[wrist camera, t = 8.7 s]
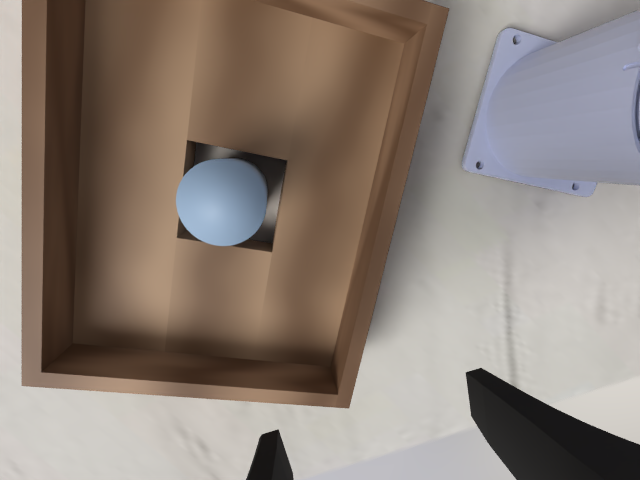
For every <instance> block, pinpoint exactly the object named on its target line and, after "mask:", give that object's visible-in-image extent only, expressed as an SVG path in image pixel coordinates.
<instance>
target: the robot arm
mask: <svg viewBox="0 0 640 480" xmlns="http://www.w3.org/2000/svg"><path fill="white" fill-rule="evenodd" d="M513 37H514V38H515V39H516V44H514V43H513ZM478 161H479V162H480V166H479V168H478V169H477V168H476V163H477V162H478ZM462 168H463V169H464V170H465V171H467V172H472V173H476V174H481V175H485V176H490V177H495V178H499V179H504V180H508V181H513V182H517V183H522V184H527V185H531V186H536V187H540V188H545V189H550V190H554V191H559V192H563V193H568V194H572V195H577V196H582V197H588V196H590V195H591V194H593V192H594V190H595V187H596V185H597V182H601V183H614V184H627V185H640V9H639V10H637V11H634V12H632V13H629V14H627V15H625V16H622V17H620V18H617V19H615V20H612V21H610V22H607V23H605V24H602V25H600V26H597V27H595V28H592V29H590V30H587V31H585V32H583V33H580V34H578V35H575V36H573V37H570V38H568V39H565V40H563V41H560V42H555V41H552V40H548V39H545V38H542V37H539V36H536V35H533V34H529V33H526V32H523V31H520V30H517V29H514V28H506V29H504V30H502V31H501V32H500V33H499V35H498V37H497V40H496V44H495V47H494V51H493V54H492V58H491V61H490V65H489V68H488V72H487V75H486V79H485V82H484V86H483V89H482V93H481V96H480V100H479V104H478V107H477V111H476V114H475V118H474V121H473V125H472V128H471V132H470V135H469V139H468V142H467V146H466V149H465V153H464V156H463V160H462ZM573 184H574V187H573V189H572V185H573ZM466 378H467V386H468V394H469V401H470V409H471V416H472V418H473V420H474V421H475V423H476V424H477V426H478V428H479V429H480V431H481V432H482V434H483V436H484V437H485V439H486V440H487V442H488V443H489V445H490V446H491V447H492V449H493V450H494V451H495V453H496V454H497V455H498V456H499V458H500V459H501V460H502V462H503V463H504V464H505V465H506V467H507V468H508V469H509V471H510V472H511V473H512V474H513V476H514V477H515V478H516V479H517V480H640V445H639V444H636V443H634V442H631V441H628V440H626V439H623V438H621V437H618V436H615V435H613V434H610V433H608V432H606V431H603V430H601V429H598V428H596V427H594V426H591V425H589V424H587V423H585V422H582V421H580V420H578V419H576V418H574V417H572V416H570V415H568V414H565V413H563V412H561V411H559V410H557V409H555V408H553V407H551V406H549V405H547V404H545V403H543V402H541V401H539V400H538V399H536V398H534V397H532V396H530V395H528V394H526V393H525V392H523V391H521V390H519V389H517V388H516V387H514V386H512V385H510V384H508V383H507V382H505V381H503V380H501V379H500V378H498V377H496V376H494V375H493V374H491V373H489V372H487V371H486V370H484V369H482V368H479V369H476V370H472V371H469V372H466ZM246 480H293V472H292V469H291V466H290V463H289V460H288V457H287V454H286V451H285V448H284V445H283V442H282V439H281V436H280V433H279V430H275V431H272V432H269V433H265V434H262V435H261V437H260V438H259V442H258V445H257V449H256V452H255V455H254V458H253V461H252V464H251V467H250V470H249V473H248V476H247V479H246Z"/></svg>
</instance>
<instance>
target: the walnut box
mask: <svg viewBox="0 0 640 480" xmlns="http://www.w3.org/2000/svg"><path fill="white" fill-rule="evenodd" d="M448 12H449V8H446V7H442V6H439V5H436V4H433V3H430V2H427V1H423V0H22V386H30V387H45V388H59V389H74V390H89V391H103V392H118V393H133V394H147V395H162V396H176V397H191V398H206V399H220V400H235V401H249V402H264V403H279V404H293V405H308V406H323V407H337V408H349V406H350V402H351V398H352V394H353V390H354V386H355V382H356V378H357V374H358V370H359V366H360V362H361V358H362V354H363V350H364V346H365V343H366V339H367V335H368V331H369V327H370V323H371V319H372V315H373V311H374V307H375V303H376V299H377V295H378V291H379V287H380V283H381V279H382V275H383V271H384V267H385V263H386V259H387V255H388V251H389V247H390V243H391V239H392V235H393V231H394V227H395V223H396V219H397V215H398V211H399V207H400V203H401V199H402V195H403V191H404V187H405V183H406V179H407V175H408V171H409V167H410V163H411V159H412V155H413V151H414V147H415V143H416V139H417V135H418V131H419V127H420V123H421V119H422V115H423V111H424V107H425V103H426V99H427V95H428V91H429V87H430V84H431V80H432V76H433V72H434V68H435V64H436V60H437V56H438V52H439V48H440V44H441V40H442V36H443V32H444V28H445V24H446V20H447V16H448ZM196 142H199V143H204V144H209V145H214V146H219V147H224V148H229V149H234V150H239V151H244V152H249V153H253V154H258V155H263V156H268V157H273V158H278V159H283V160H286V166H285V172H284V178H283V183H282V189H281V195H280V201H279V207H278V213H277V219H276V224H275V230H274V236H273V242H272V243H267V242H261V241H255V240H248V239H247V240H245V241H243V242H241V243H239V244H235V245H231V246H217V245H212V244H208V243H206V242H203V241H201V240H199V239H198V238H196V237H195V236H193V235H192V234H191V233H190V232H189V231H188V230H186V227H185V226H184V225H183V223H182V221H181V219H180V217H179V215H178V212H177V207H176V194H177V189H178V186H179V184H180V182H181V180H182V178H183V177H184V175H185V174H186V173H187V172H188V171H189V170H190V169H191V168H193V166H194V157H195V148H196Z"/></svg>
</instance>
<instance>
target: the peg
mask: <svg viewBox="0 0 640 480" xmlns="http://www.w3.org/2000/svg"><path fill="white" fill-rule="evenodd" d="M267 194H268V187H267V182H266V179H265V176H264V175H263V173H262V172H261V170H260V169H259V168H258V167H257V166H256V165H255V164H253V163H251V162H250V161H247V160H245V159H240V158H226V159H212V160H207V161H204V162H201V163H199V164H197V165H195V166H194V167H193V168H191V169H190V170H189V171H188V172H187V173H186V174H185V175H184V177H183V178H182V180H181V182H180V184H179V186H178V189H177V194H176V207H177V212H178V215H179V217H180V219H181V221H182V223H183V225H184V226H185V227H186V229H187V230H188V231H189V232H190V233H191V234H192V235H193V236H195V237H196V238H198V239H199V240H201V241H203V242H206V243H208V244H212V245H217V246H231V245H235V244H239V243H241V242H243V241H245V240H247V239H248V238H250V237H251V236H252V235H253V234H254V233H256V231H257V230H258V229H259V227H260V226H261V224H262V222H263V220H264V217H265V213H266V205H267Z"/></svg>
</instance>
